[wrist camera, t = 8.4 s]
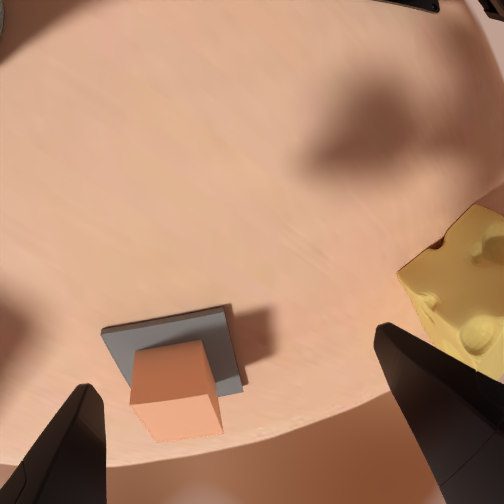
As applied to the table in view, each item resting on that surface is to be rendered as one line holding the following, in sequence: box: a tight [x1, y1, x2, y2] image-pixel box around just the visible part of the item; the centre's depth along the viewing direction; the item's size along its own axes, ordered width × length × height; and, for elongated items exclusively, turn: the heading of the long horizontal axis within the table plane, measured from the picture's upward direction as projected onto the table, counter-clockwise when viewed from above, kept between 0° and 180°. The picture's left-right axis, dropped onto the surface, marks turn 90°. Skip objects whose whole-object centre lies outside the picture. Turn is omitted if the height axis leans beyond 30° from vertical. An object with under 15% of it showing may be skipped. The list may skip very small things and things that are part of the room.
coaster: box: [100, 307, 243, 397], centre depth 23 cm, size 9×9×1 cm
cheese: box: [397, 204, 504, 381], centre depth 21 cm, size 10×11×10 cm
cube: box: [130, 340, 224, 443], centre depth 20 cm, size 5×5×5 cm
